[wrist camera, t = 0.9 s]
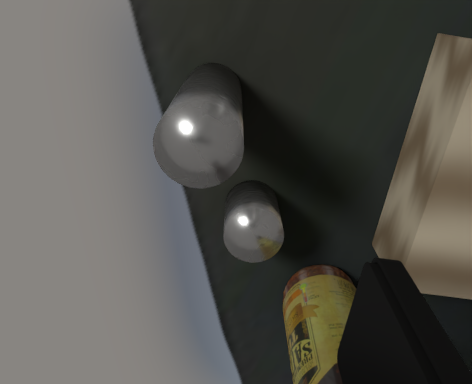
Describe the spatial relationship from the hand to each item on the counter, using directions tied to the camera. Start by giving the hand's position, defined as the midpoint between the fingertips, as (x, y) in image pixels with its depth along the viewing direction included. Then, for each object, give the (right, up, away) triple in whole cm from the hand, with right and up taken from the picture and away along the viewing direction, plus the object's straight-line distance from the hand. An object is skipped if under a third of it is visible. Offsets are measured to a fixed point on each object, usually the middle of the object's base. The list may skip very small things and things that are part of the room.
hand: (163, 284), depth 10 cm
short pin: (+3, +1, +24) cm, 24 cm away
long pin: (0, +9, +20) cm, 22 cm away
